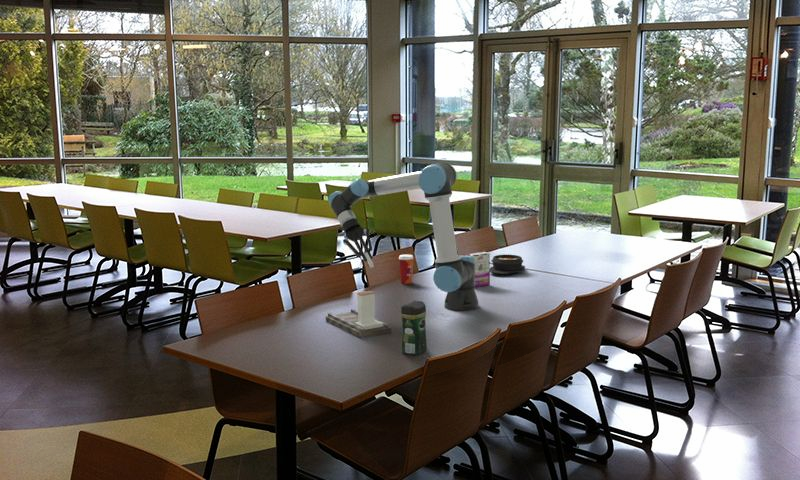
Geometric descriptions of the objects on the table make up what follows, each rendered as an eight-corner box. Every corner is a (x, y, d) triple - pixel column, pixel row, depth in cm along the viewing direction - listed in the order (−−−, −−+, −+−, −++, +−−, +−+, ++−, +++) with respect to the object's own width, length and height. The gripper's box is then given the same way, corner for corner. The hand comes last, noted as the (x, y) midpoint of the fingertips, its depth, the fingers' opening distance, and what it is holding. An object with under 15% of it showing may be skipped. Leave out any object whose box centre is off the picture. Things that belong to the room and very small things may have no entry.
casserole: (511, 278, 403) (512, 262, 401) (480, 274, 413) (480, 259, 412) (533, 270, 423) (533, 254, 421) (502, 266, 433) (503, 251, 432)
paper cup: (412, 284, 392) (412, 257, 389) (397, 284, 393) (397, 256, 391) (415, 281, 399) (414, 254, 397) (400, 280, 401) (400, 253, 399)
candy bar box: (484, 283, 392) (484, 251, 390) (490, 285, 388) (490, 253, 385) (465, 286, 387) (465, 253, 385) (470, 288, 383) (471, 255, 380)
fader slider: (354, 326, 312) (354, 293, 310) (374, 322, 317) (373, 289, 314) (363, 330, 306) (362, 296, 304) (383, 326, 311) (382, 293, 308)
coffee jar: (411, 346, 293) (410, 298, 289) (429, 349, 288) (429, 300, 285) (397, 353, 284) (397, 303, 281) (416, 356, 280) (416, 306, 277)
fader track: (325, 320, 328) (325, 313, 328) (354, 315, 336) (354, 308, 335) (360, 338, 303) (360, 330, 303) (391, 332, 311) (391, 324, 310)
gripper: (362, 220, 351) (386, 263, 342) (336, 232, 349) (359, 275, 339) (361, 212, 344) (385, 256, 335) (335, 224, 342) (357, 269, 333)
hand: (372, 266), depth 337 cm, fingers closed
